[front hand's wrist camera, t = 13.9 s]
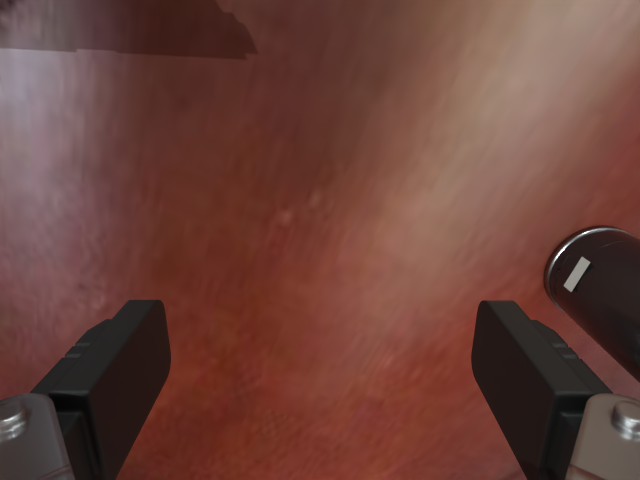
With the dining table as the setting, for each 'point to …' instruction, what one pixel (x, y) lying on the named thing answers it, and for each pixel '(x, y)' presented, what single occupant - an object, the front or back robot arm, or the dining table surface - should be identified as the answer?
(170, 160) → the dining table surface
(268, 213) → the dining table surface
